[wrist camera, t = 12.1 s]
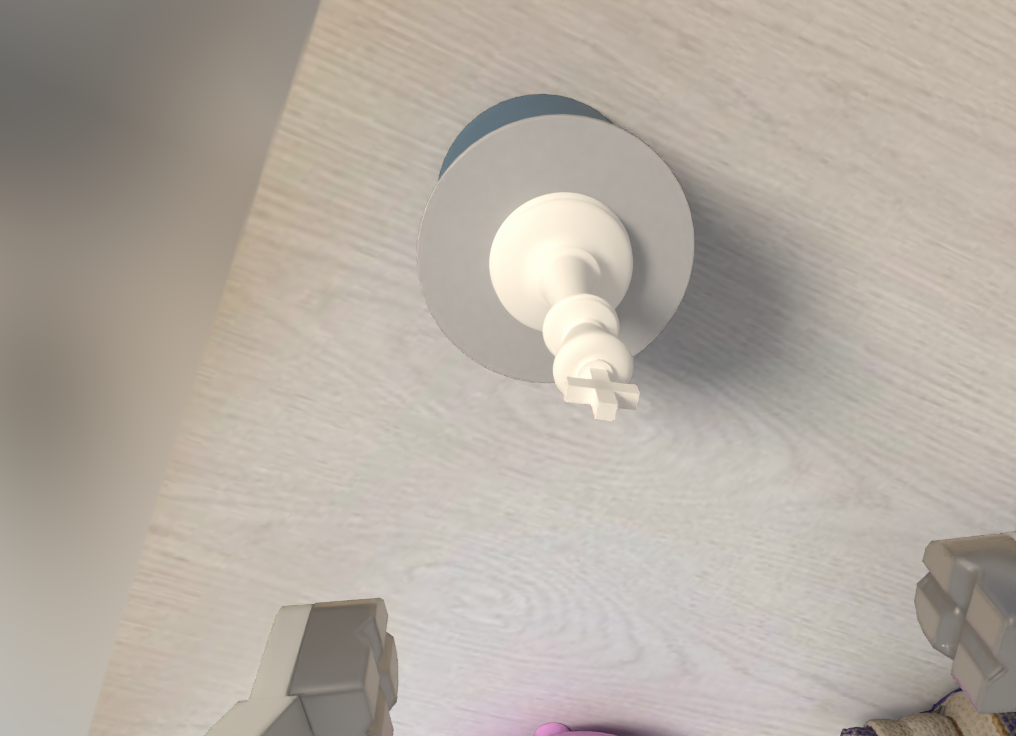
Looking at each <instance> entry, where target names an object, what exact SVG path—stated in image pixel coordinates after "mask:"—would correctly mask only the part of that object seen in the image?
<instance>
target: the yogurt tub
mask: <svg viewBox="0 0 1016 736" xmlns="http://www.w3.org/2000/svg"><path fill="white" fill-rule="evenodd" d="M558 192H570V193H578V194H582V195H586V196H589V197H591V198H594V199H596V200H598V201H600V202H601V203H603V204H604V205H606V206H607V207H608V208H610V209H611V210H612V211H613V212H614V213H615V214H616V215H617V217H618V218H619V219H620V220H621V222H622V223H623V225H624V227H625V229H626V231H627V233H628V236H629V239H630V242H631V247H632V255H633V271H632V277H631V281H630V284H629V287H628V290H627V292H626V294H625V296H624V297H623V299H622V301H621V302H620V303H619V305H618V306H617V307H616V308H615V311H616V313H617V316H618V319H619V326H620V327H619V335H618V338H619V339H621V340H622V341H623V342H624V343H625V344H626V346H627V347H628V348H629V350H630V352H631V355H632V357H634V356H635V355H637V354H638V353H639V352H641V351H642V350H643V349H644V348H646V347H647V346H648V345H649V344H650V343H651V342H652V341H653V340H654V339H655V338H656V337H657V336H658V335H659V334H660V333H661V331H662V330H663V329H664V328H665V327H666V326H667V324H668V323H669V321H670V320H671V318H672V317H673V315H674V314H675V312H676V311H677V309H678V307H679V305H680V303H681V301H682V299H683V297H684V294H685V292H686V289H687V286H688V283H689V280H690V276H691V272H692V267H693V262H694V250H695V239H694V226H693V221H692V215H691V210H690V208H689V205H688V202H687V199H686V196H685V193H684V191H683V189H682V188H681V186H680V184H679V182H678V180H677V178H676V176H675V175H674V174H673V172H672V171H671V169H670V168H669V167H668V165H667V164H666V163H665V162H664V161H663V160H662V158H661V157H660V156H659V155H658V154H657V153H656V152H655V151H654V150H653V149H652V148H651V147H649V146H648V145H647V144H645V143H644V142H643V141H642V140H640V139H639V138H638V137H636V136H635V135H633V134H631V133H629V132H628V131H626V130H624V129H622V128H620V127H618V126H616V125H613V124H612V123H611V122H610V121H609V120H608V119H607V118H606V117H604V116H603V115H602V114H601V113H599V112H598V111H597V110H595V109H593V108H591V107H590V106H588V105H586V104H584V103H581V102H579V101H576V100H574V99H571V98H567V97H563V96H558V95H548V94H536V95H526V96H520V97H515V98H512V99H509V100H506V101H503V102H501V103H499V104H497V105H495V106H493V107H491V108H489V109H487V110H486V111H484V112H483V113H481V114H480V115H478V116H477V117H476V118H475V119H474V120H473V121H471V122H470V123H469V124H468V125H467V126H466V127H465V128H464V129H463V131H462V132H461V133H460V134H459V135H458V136H457V138H456V140H455V141H454V143H453V144H452V146H451V147H450V149H449V151H448V153H447V155H446V157H445V159H444V162H443V165H442V168H441V171H440V175H439V180H438V183H437V184H436V186H435V187H434V189H433V191H432V194H431V196H430V198H429V200H428V202H427V204H426V207H425V210H424V213H423V217H422V220H421V223H420V229H419V235H418V240H417V268H418V277H419V281H420V285H421V289H422V293H423V296H424V298H425V301H426V304H427V306H428V309H429V311H430V312H431V314H432V316H433V318H434V320H435V321H436V323H437V325H438V326H439V327H440V329H441V330H442V331H443V333H444V334H445V335H446V337H447V338H448V339H449V340H450V341H451V342H452V343H453V344H454V345H455V346H456V347H457V348H458V349H459V350H460V351H462V352H463V353H464V354H466V355H467V356H468V357H469V358H471V359H472V360H474V361H475V362H477V363H479V364H480V365H482V366H484V367H485V368H487V369H490V370H492V371H494V372H496V373H499V374H501V375H504V376H508V377H511V378H514V379H518V380H523V381H529V382H538V383H555V381H554V377H553V363H554V359H555V356H554V355H553V354H552V353H551V352H550V351H549V349H548V348H547V346H546V344H545V342H544V338H543V332H541V331H538V330H535V329H532V328H530V327H528V326H526V325H524V324H522V323H521V322H519V321H518V320H517V319H515V318H514V317H513V316H512V315H511V314H510V313H509V312H508V311H507V310H506V309H505V307H504V306H503V304H502V303H501V301H500V300H499V298H498V296H497V294H496V292H495V289H494V287H493V284H492V281H491V276H490V269H489V258H490V251H491V247H492V243H493V241H494V238H495V236H496V234H497V232H498V230H499V228H500V227H501V225H502V224H503V222H504V221H505V220H506V219H507V217H508V216H509V215H510V214H511V213H512V212H513V211H515V210H516V209H517V208H518V207H520V206H521V205H523V204H524V203H526V202H528V201H530V200H532V199H534V198H536V197H539V196H542V195H546V194H550V193H558Z"/></svg>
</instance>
